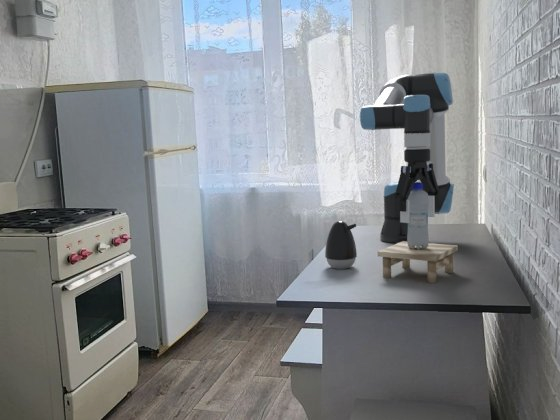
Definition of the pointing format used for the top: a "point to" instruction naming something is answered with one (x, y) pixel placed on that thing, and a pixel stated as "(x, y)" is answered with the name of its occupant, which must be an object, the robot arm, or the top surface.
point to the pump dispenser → (341, 246)
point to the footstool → (419, 257)
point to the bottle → (418, 217)
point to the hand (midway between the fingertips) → (417, 219)
